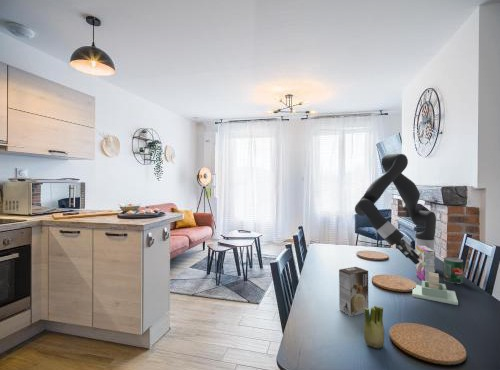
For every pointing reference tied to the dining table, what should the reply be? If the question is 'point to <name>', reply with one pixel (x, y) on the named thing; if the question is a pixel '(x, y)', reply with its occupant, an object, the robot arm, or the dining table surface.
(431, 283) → the ash slat
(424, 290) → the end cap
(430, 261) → the candy bar box
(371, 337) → the fennel bulb
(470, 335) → the dining table surface
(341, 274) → the coffee box
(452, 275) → the canned tomato
